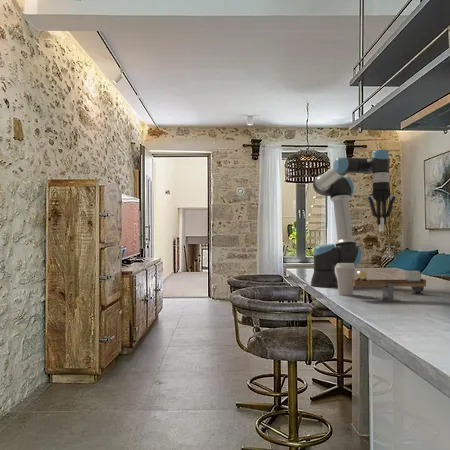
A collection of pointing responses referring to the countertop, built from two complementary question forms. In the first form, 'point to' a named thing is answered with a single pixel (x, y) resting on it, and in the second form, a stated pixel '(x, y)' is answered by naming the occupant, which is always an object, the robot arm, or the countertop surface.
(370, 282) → the wooden tray
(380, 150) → the robot arm
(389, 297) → the fulcrum
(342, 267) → the coffee cup
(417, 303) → the countertop surface
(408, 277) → the block
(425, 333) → the countertop surface
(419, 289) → the salt shaker
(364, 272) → the cylinder
